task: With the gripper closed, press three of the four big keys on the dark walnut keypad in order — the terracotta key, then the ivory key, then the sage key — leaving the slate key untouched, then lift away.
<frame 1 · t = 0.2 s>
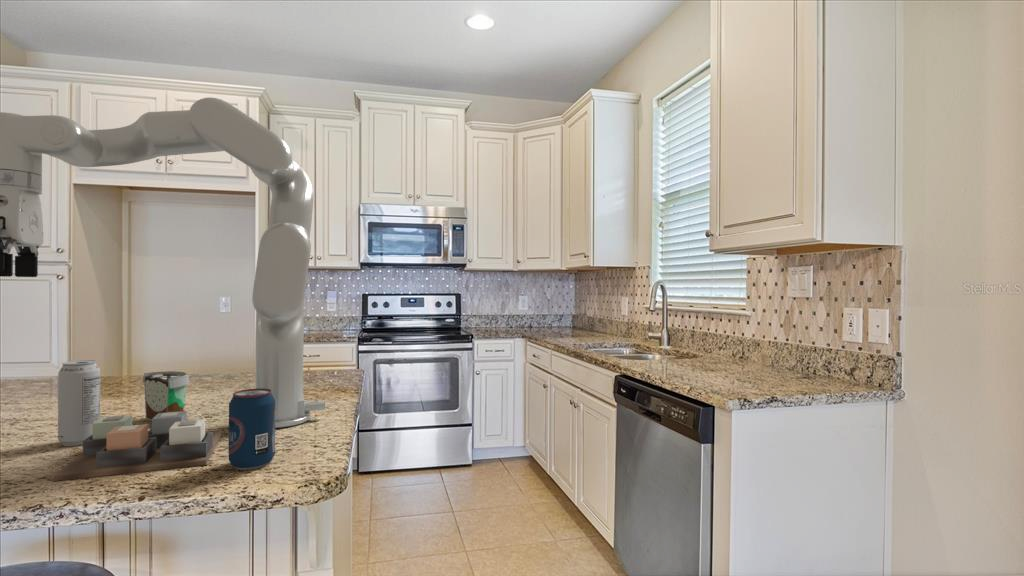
hand: (13, 276, 94), 31 cm above the countertop, fingers open, 9 cm apart
energy drink can: (79, 443, 96), on the countertop
terracotta key: (128, 436, 85), point 4 cm above the countertop, slide at 0.0 cm
ivory key: (187, 431, 88), point 4 cm above the countertop, slide at 0.0 cm
keypad: (149, 454, 89), on the countertop
food container: (171, 420, 112), on the countertop
soda can: (252, 464, 85), on the countertop
sage key: (113, 426, 90), point 5 cm above the countertop, slide at 0.0 cm
slate key: (169, 422, 94), point 4 cm above the countertop, slide at 0.0 cm
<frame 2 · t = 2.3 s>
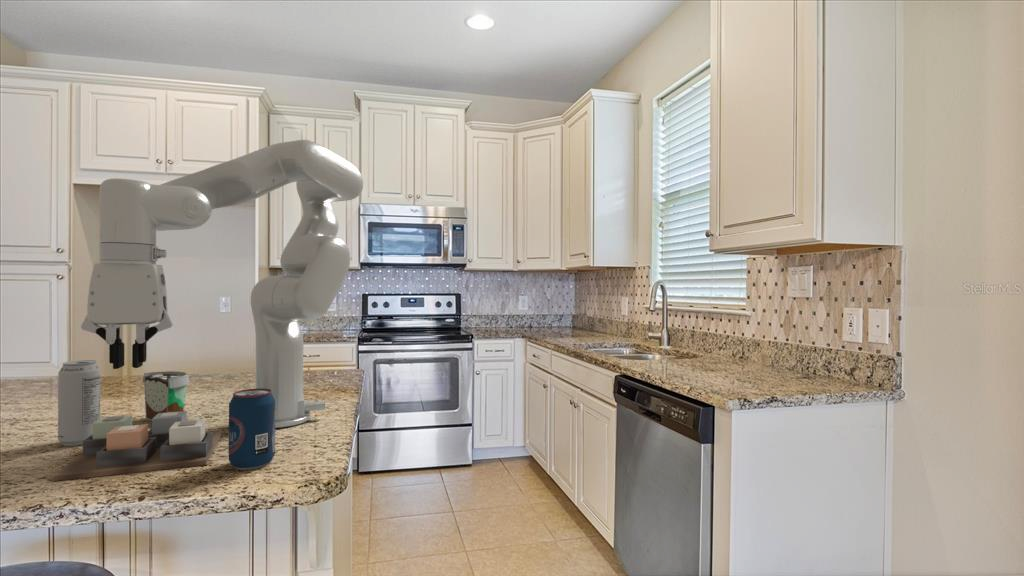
hand: (128, 366, 85), 16 cm above the countertop, fingers closed
nothing on the countertop moved.
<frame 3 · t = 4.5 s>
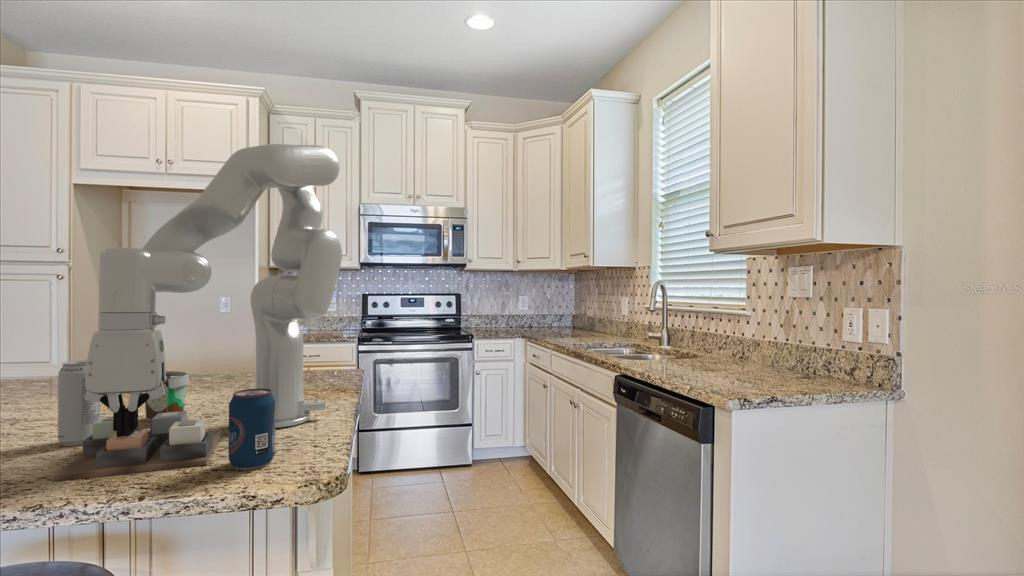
hand: (125, 434, 84), 5 cm above the countertop, fingers closed
terracotta key: (128, 443, 85), point 3 cm above the countertop, slide at 1.1 cm, touching gripper
everything else where it was.
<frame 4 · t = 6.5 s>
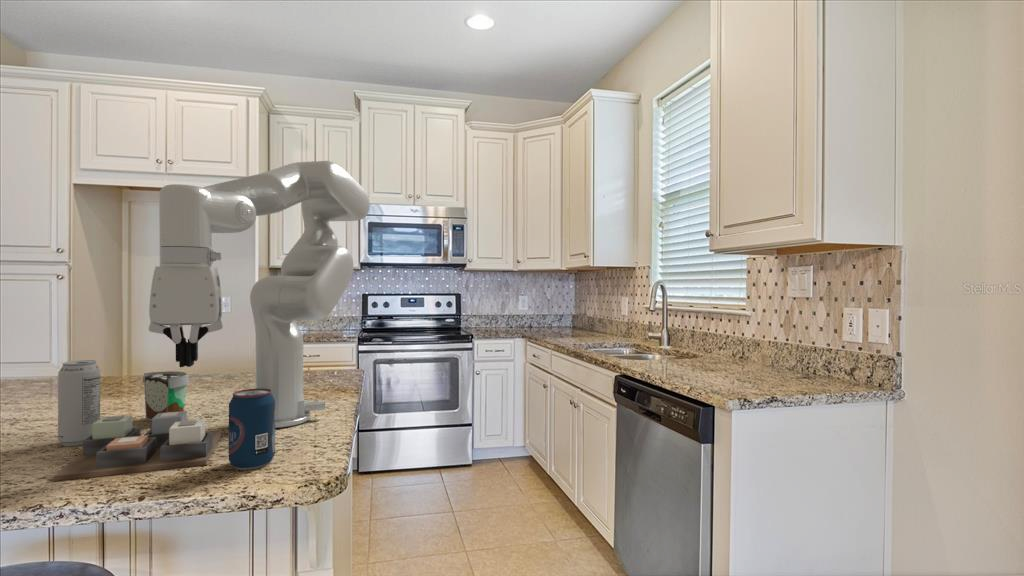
hand: (186, 365, 88), 16 cm above the countertop, fingers closed
terracotta key: (128, 448, 85), point 3 cm above the countertop, slide at 1.9 cm
everything else where it was.
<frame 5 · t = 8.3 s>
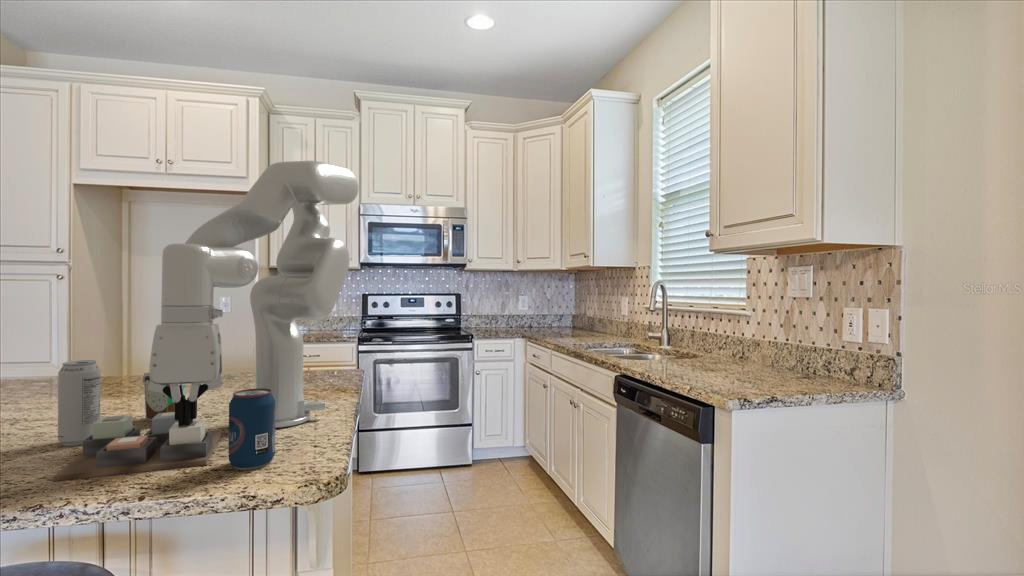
hand: (185, 423, 87), 6 cm above the countertop, fingers closed
ivory key: (187, 431, 88), point 4 cm above the countertop, slide at 0.1 cm, touching gripper
everything else where it was.
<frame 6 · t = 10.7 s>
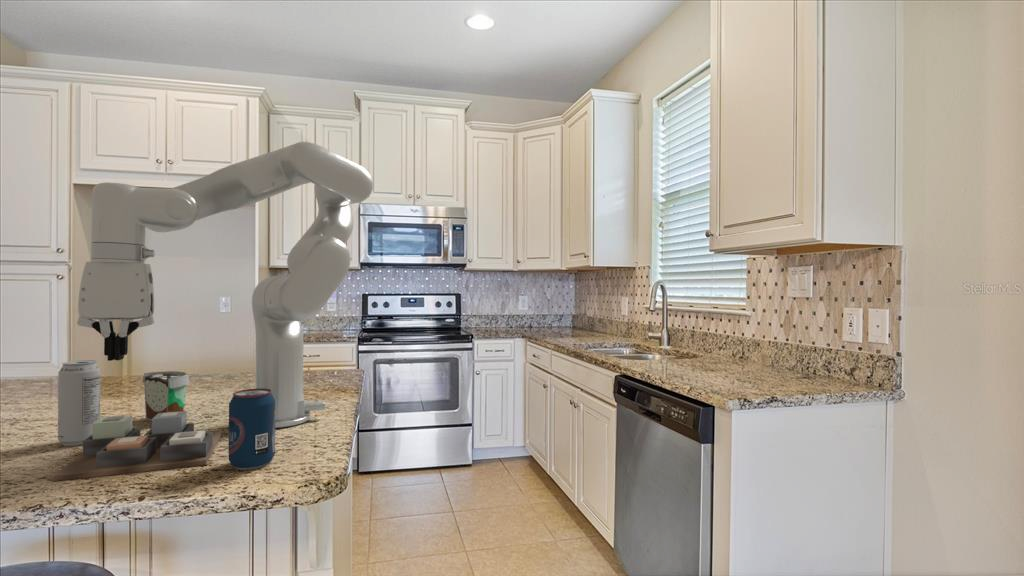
hand: (115, 359, 90), 16 cm above the countertop, fingers closed
ivory key: (187, 442, 88), point 3 cm above the countertop, slide at 1.9 cm
everything else where it was.
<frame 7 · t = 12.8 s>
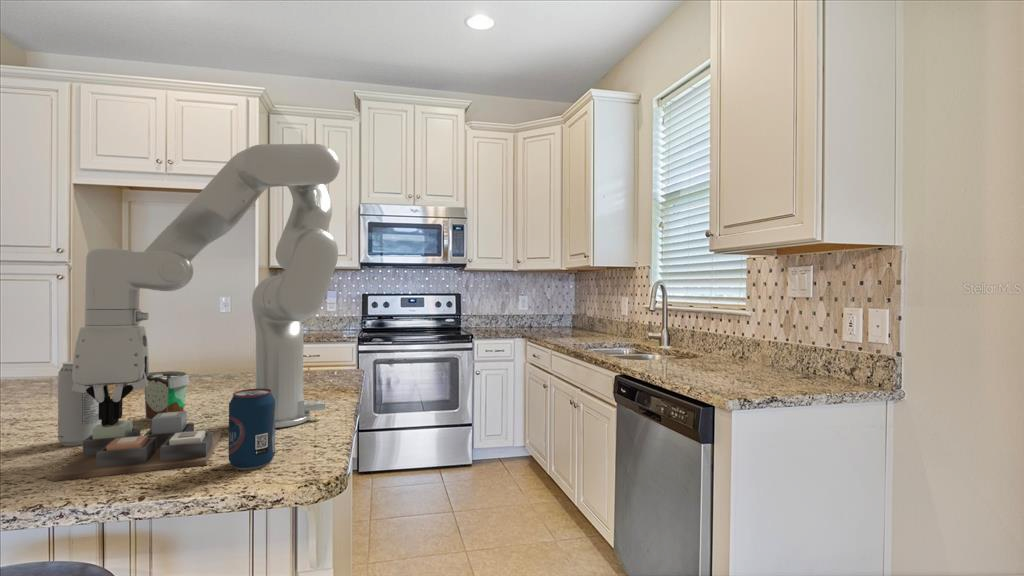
hand: (110, 423, 90), 5 cm above the countertop, fingers closed
sage key: (113, 431, 90), point 4 cm above the countertop, slide at 0.9 cm, touching gripper
everything else where it was.
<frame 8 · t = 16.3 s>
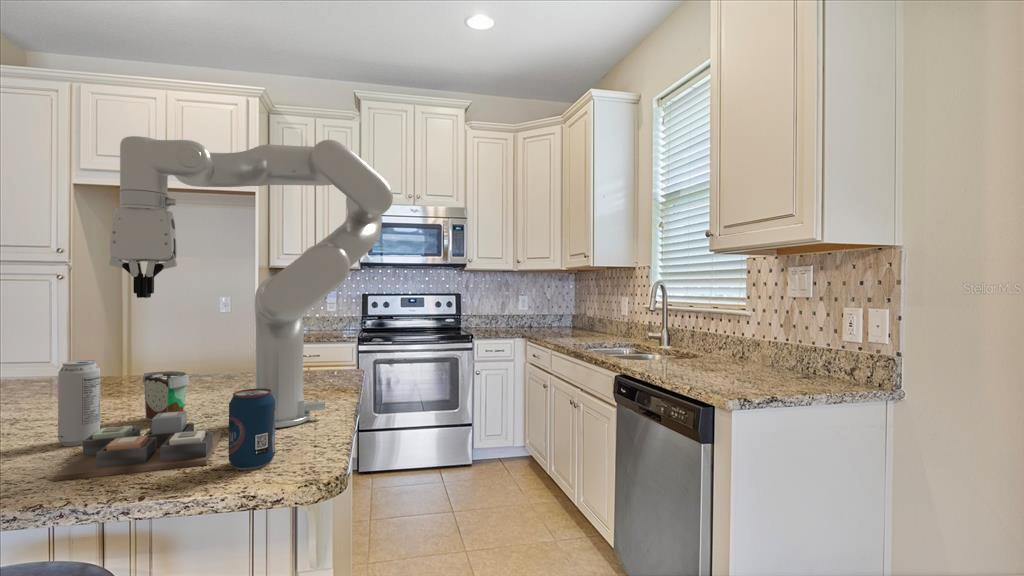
hand: (143, 297, 99), 27 cm above the countertop, fingers closed
sage key: (113, 437, 90), point 3 cm above the countertop, slide at 1.9 cm
everything else where it was.
at the end: terracotta key slide at 1.9 cm; sage key slide at 1.9 cm; slate key slide at 0.0 cm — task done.
